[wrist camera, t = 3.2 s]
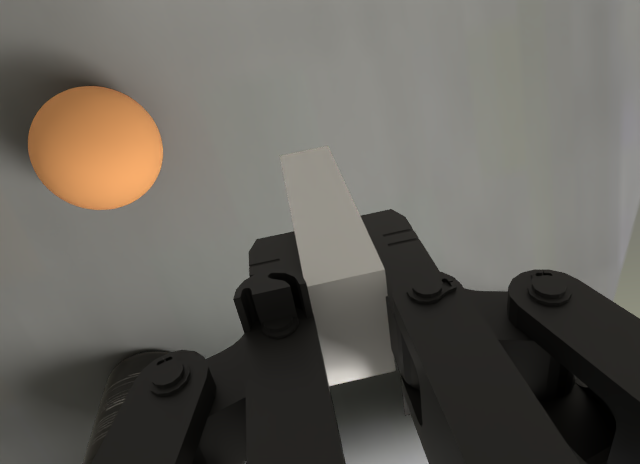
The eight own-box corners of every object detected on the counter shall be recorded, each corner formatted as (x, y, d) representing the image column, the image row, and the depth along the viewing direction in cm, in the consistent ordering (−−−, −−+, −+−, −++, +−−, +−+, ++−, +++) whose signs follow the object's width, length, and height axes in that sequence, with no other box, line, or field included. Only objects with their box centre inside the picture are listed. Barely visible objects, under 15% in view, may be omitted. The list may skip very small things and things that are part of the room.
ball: (148, 63, 24) (123, 91, 19) (184, 169, 27) (170, 217, 22) (32, 86, 24) (-24, 120, 19) (81, 190, 27) (44, 243, 22)
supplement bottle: (110, 411, 36) (58, 590, 26) (107, 345, 33) (46, 519, 23) (201, 412, 38) (186, 581, 27) (207, 348, 34) (192, 513, 24)
